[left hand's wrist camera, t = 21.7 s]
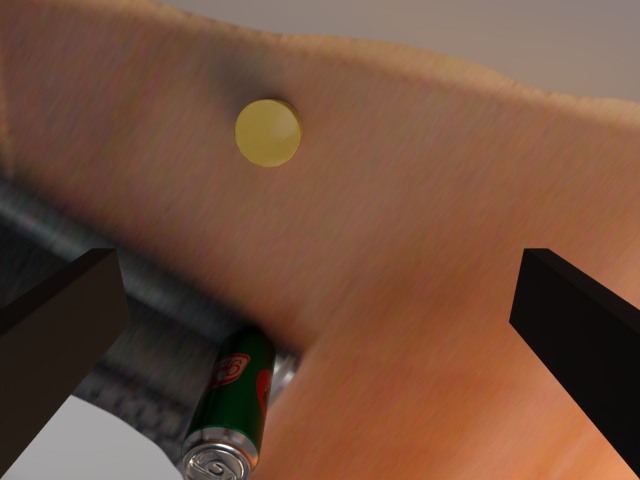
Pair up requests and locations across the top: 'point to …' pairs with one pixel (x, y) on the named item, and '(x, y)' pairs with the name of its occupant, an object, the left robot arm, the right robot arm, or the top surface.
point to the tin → (268, 132)
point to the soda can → (231, 411)
